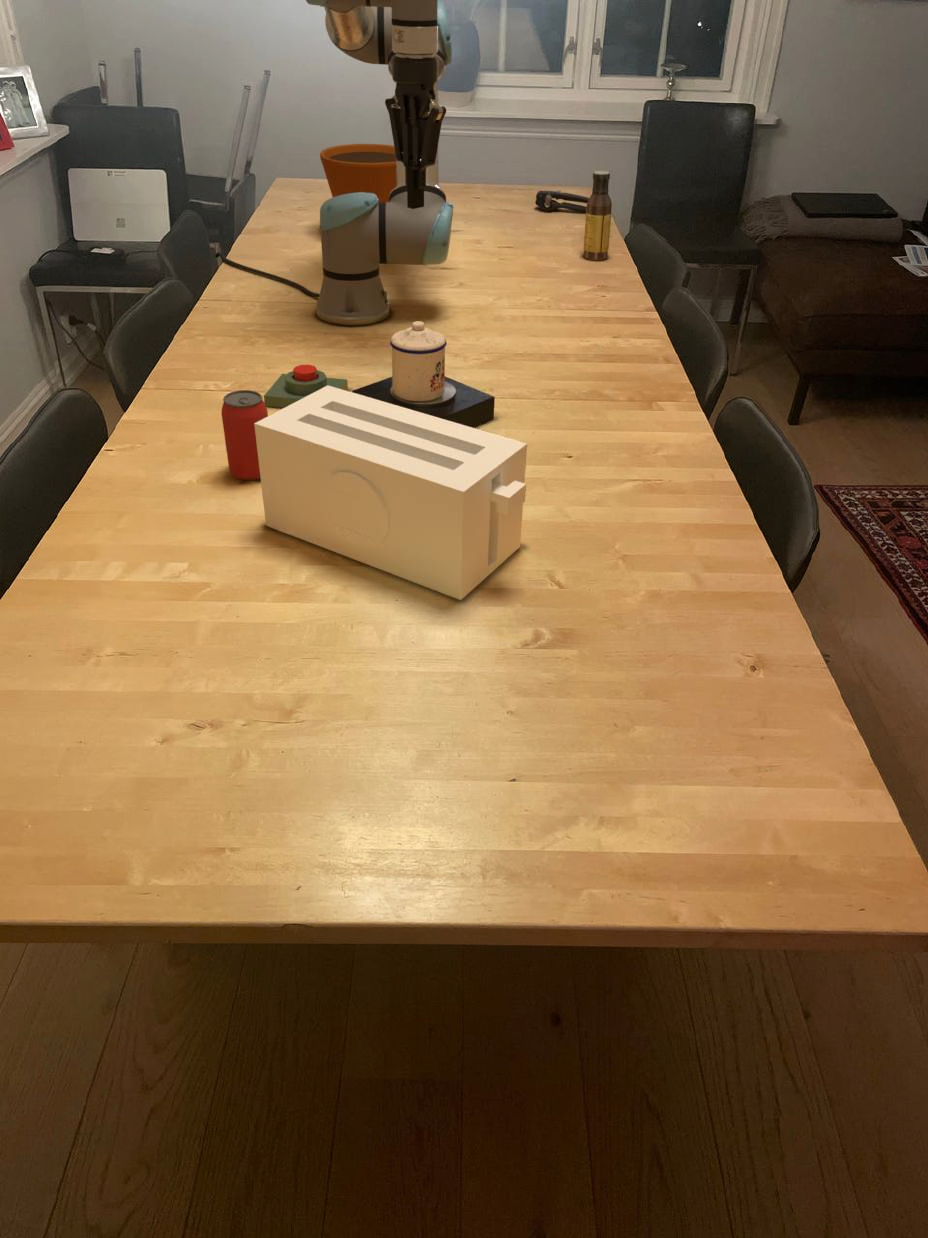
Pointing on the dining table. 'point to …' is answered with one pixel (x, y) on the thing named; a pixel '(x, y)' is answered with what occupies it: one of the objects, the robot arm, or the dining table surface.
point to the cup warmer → (440, 402)
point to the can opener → (548, 204)
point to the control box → (298, 389)
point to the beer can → (242, 432)
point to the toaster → (393, 487)
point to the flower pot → (360, 169)
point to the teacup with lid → (418, 363)
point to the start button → (305, 373)
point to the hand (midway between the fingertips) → (415, 206)
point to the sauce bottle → (598, 218)
